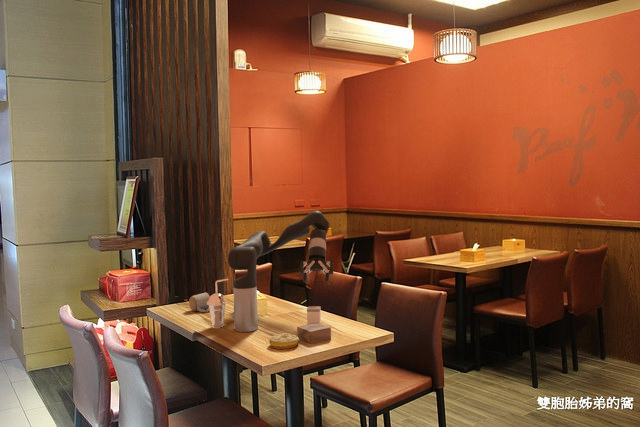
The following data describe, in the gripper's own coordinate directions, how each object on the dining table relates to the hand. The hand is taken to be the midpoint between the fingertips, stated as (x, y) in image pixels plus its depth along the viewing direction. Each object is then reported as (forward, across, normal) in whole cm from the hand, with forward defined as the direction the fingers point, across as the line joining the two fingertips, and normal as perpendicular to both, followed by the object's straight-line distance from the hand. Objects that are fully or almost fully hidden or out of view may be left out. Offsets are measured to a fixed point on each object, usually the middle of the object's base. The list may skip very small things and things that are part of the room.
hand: (316, 282), depth 239 cm
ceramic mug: (-4, +55, -29) cm, 62 cm away
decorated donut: (+35, +9, +11) cm, 38 cm away
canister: (+21, 0, -3) cm, 21 cm away
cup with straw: (+17, +40, -8) cm, 44 cm away
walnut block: (+29, -1, +6) cm, 30 cm away
